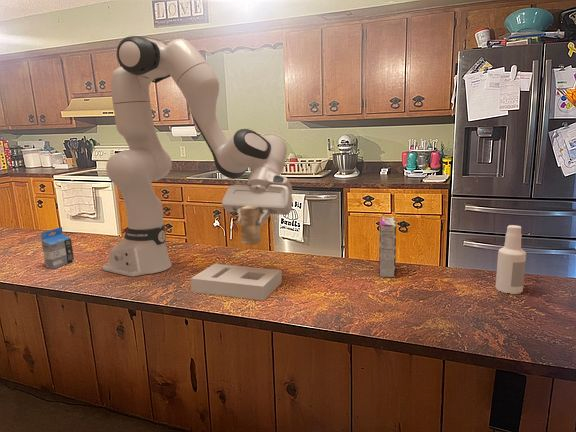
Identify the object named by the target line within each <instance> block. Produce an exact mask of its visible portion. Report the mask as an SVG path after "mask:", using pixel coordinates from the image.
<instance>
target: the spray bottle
mask: <svg viewBox="0 0 576 432" xmlns="http://www.w3.org/2000/svg"><path fill="white" fill-rule="evenodd" d="M522 237H523V235H522V226H521V225H516V224H509V225H508V226H507V227H506V233H505V238H504V239H505V241H504V245H503V247H500V248H499V249H498V251H497V261H496V262H497V264H496V276H495V286H494V287H495V289H496V290H497V291H498V292H500V291H501V292H500V293H503V294H507V293H510V294H509V295H519V294H521V292H522V293H523V290H524V282H525V271H526V258H527V252H526V251H525V250H524V249H523V248H522V239H523V238H522Z"/></svg>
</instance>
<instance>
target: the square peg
mask: <svg viewBox="0 0 576 432" xmlns="http://www.w3.org/2000/svg"><path fill="white" fill-rule="evenodd" d="M260 217H261V213H260V208H259V207H257V206H245V207H242V208H241V224H240V229H241V231H240V232H241V234H240V235H241V245H251V246H256V245H258V244H259V243H261V242H262V238H261V237H262V233H261V231H262V229H261V226H257V224H256V221H257V218H260Z"/></svg>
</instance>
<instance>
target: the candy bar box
mask: <svg viewBox="0 0 576 432" xmlns="http://www.w3.org/2000/svg"><path fill="white" fill-rule="evenodd" d="M378 236H379V240H378V244H379V245H378V263H379V264H378V268H379V269H378V273H379V278H392V277H394V278H396V261H397V260H396V257H397V256H396V255H397V253H396V252H397V244H396V243H397V220H396V217H392V216H390V217H389V216H387V217H384V216H382V217H379V234H378Z"/></svg>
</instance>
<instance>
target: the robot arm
mask: <svg viewBox="0 0 576 432" xmlns="http://www.w3.org/2000/svg"><path fill="white" fill-rule="evenodd" d="M116 59H117V62H118V64H119V66H118V67H117V68H116V69H114V71H113V72H112V74H111V100H112V106H113V113H114V121H115V127H116V131H117V132H118V133H119V134H120V135H121V136H122V137H123V138H124V140H125V141H126V143H127V145H128V146H127V147H128V148H129V149H127V150H126V149H125V150H124V149H123V150H121V151H119V152H117V153H115V154H112V155H111V156H110V157H109V158H108V159H107V161H106V165H105V172H106V174H107V177H108V178H109V180H110V181H111V182H112V183H113V184H114V185H116V186H117V188H118V190H119V191H120V193H121V195H122V199H123V201H124V204H125V211H126V218H127V219H126V220H127V227H126V228H124V229H123V228H122V229H120V231H121V234H124V238H123V239H122V240H121V241H119V242H118V243H117V244H116V245H114V247H112V248H111V249H110V251H109V254H108V255H109V256H108V262H106V263H104V264H103V265H102V267H101V270H102V271H104V272H109V273H115V274H118V275H123V276H126V277H127V276H128V277H137V276H142V275H148V274H149V275H151V274H157V273H161V272H163V271H164V272H165V271H166V270H168V269H170V268H171V267H172V262H171V260H170V256H169V253H168V249H167V242H166V239H167V238H166V237H167V235H166V234H167V233H166V225H165V223H164V216H163V215H164V214H163V213H164V212H163V211H164V210H163V203H162V200H161V198H159V197H158V196H157V195H156V194H155V190H154V188H153V184H152V183H153V182H156V181H157V182H158V181H159V180H161V179H163V178H165V177H166V176H167V175H168V174H169V173H170V172H171V169H172V167H173V165H172V159H171V156H170V154H169V153H168V152H166V150H165V149H164V148H163V146H162V144H161V142H160V140H159V137H158V135H157V132H156V128H155V124H154V118H153V111H152V103H151V98H150V89H149V88H150V86H151V85H150V84H151V83H154V84H158V83H159V82H161V81H163V80H166V79H168V78H170V77H171V78H172V80H173V81H174V83H175V84H176V86H177V87H178V89H179V90H180V93H182V95H183V97H184V99H185V101H186V103H187V105H188V108H189V112H190V114H191V117H192V120H193V121H194V123H195V125H196V127H197V129H198V131H199V133H200V135H201V136H202V138H203V140H204V142H205V143H206V145H207V147H208V148H209V151H210V152H211V155H212V157H213V161H214V165H215V168H216V169H217V171H218V172H219V173H220V174H221V175H223V176H224V177H226V178H229V179H231V180H232V179H239V178H241V177H243V175H245V173H246V172H247V171H248V169H249V168H250V169H251V170H250V174H249V177H248V179H247V182H234V184H231V185H229V186H228V188H227V190H226V191H225V194H224V196H223V198H222V200H221V206H222V207H223V209H224V210H225V211H226V212H228V213H229V212H231V213H232V212H233V213H237V214H238V218H237V224H238V225H241V208H242V207H245V206H257V207H259V208H260V214H261V215H260V218H257V221H256V224H257V226H260V227H263V226H264V223H265V222H266V220H267V219H269V218H270V215H283V216H285V215H286V216H287V215H288V214H290V213H291V211H292V207H293V192H294V191H293V187H292V184H291V183H290V179H288V178H287V177H286V176H283V175H281V173H282V172H283V170H284V167H285V165H286V159H287V154H288V153H287V152H288V151H287V148H288V147H287V145H286V143H285V141H284V140H283V139H282V138H281V137H279V136H277V135H274V134H269V135H262V134H259V133H257V132H256V131H254V130H253V129H251V128H250V129H249V128H241V129H238V130H237V131H235V133H234V134H233V135H232V136H231V138H230V139H229V140H228V139H227V137H226V135H225V133H224V132H223V131H224V130H222V128H221V126H220V125H219V122H218V119H217V115H216V112H217V111H216V109H217V108H216V107H217V100H218V97H219V94H220V93H219V92H220V83H219V80H218V78H217V75H216V73H215V71H214V70H213V68H212V67H211V66H210V64H209V63H208V62H207V60H206V58H204V56H203V55H202V54H201V52H199V50H198V49H197V48H196V47H195V46H194V45H193V44H192V43H191V42H190V41H189V40H186V39H185V38H176V39H173V40H171V41H170V42H168V43H165V42H161V41H159V40H157V39H155V38H154V39H153V38H147V37H143V36H140V35H130V36H127V37H124V38H123V39H121V41H120V42H119V43H118V45H117V48H116Z"/></svg>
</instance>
